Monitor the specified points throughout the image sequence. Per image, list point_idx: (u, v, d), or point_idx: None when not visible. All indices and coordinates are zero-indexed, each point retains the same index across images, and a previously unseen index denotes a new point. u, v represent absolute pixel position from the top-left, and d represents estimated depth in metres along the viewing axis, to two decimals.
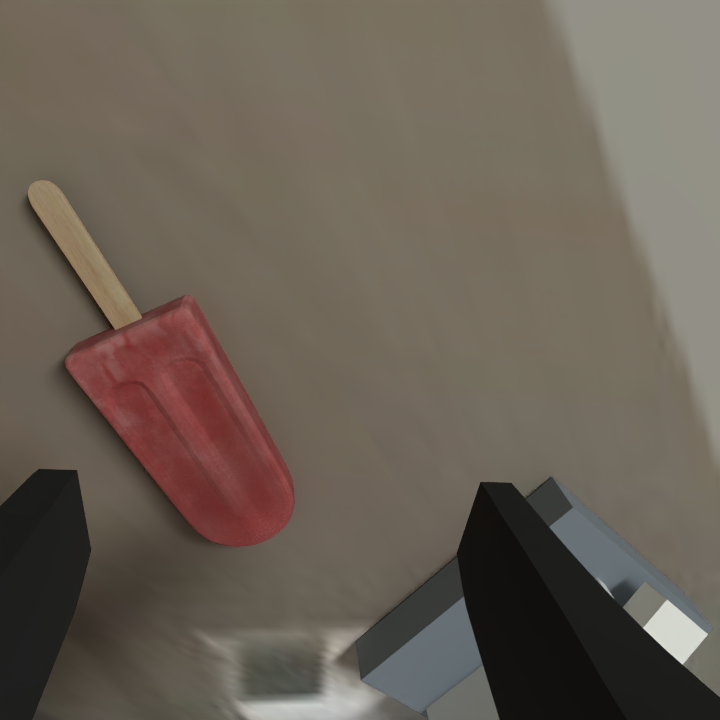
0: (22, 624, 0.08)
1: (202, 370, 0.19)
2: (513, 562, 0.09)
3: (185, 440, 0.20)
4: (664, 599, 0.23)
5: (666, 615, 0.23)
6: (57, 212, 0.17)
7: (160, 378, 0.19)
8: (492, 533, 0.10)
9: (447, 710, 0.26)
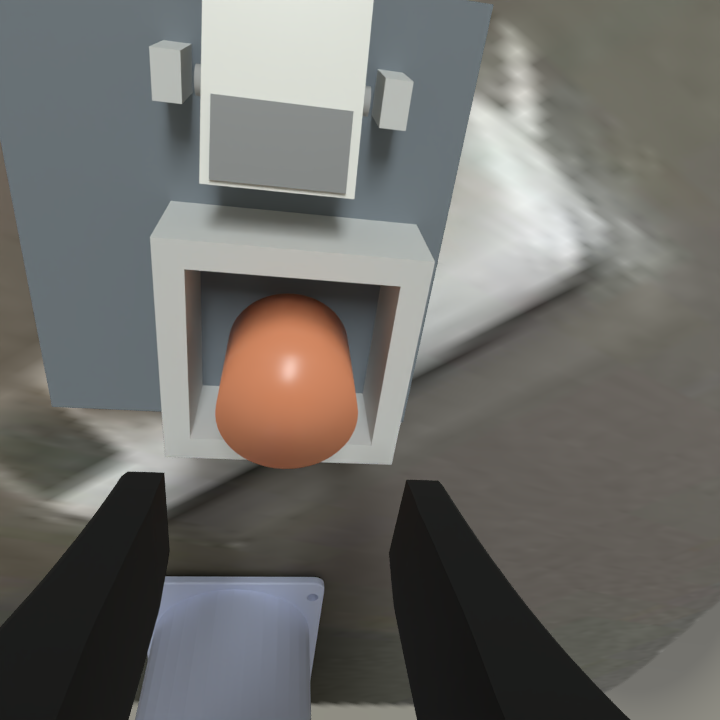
0: (127, 624, 0.08)
1: None
2: (428, 561, 0.09)
3: None
4: None
5: None
6: None
7: None
8: (413, 532, 0.10)
9: None
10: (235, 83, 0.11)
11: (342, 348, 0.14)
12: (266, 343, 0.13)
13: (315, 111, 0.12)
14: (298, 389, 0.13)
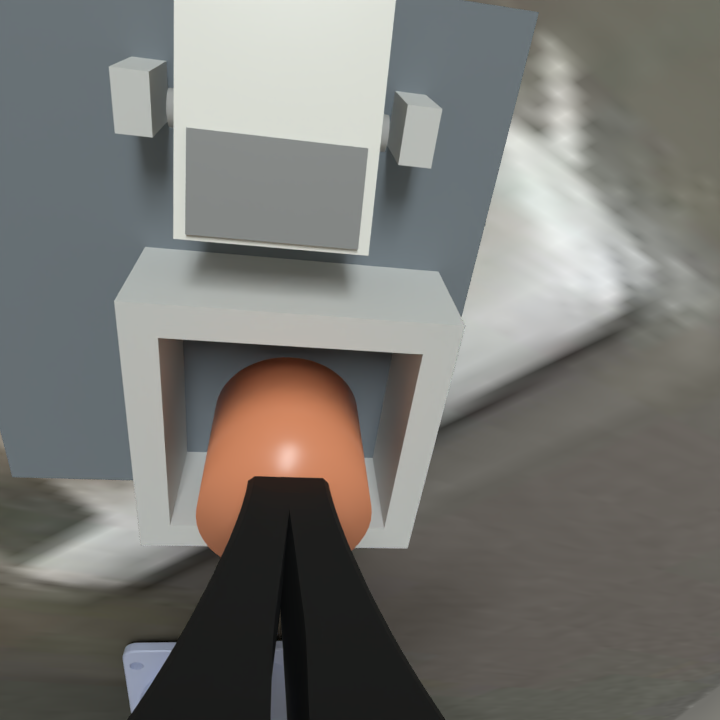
0: (276, 623, 0.09)
1: None
2: (291, 560, 0.09)
3: None
4: None
5: None
6: None
7: None
8: (287, 530, 0.09)
9: None
10: (218, 114, 0.09)
11: (352, 428, 0.11)
12: (259, 430, 0.10)
13: (320, 147, 0.09)
14: None
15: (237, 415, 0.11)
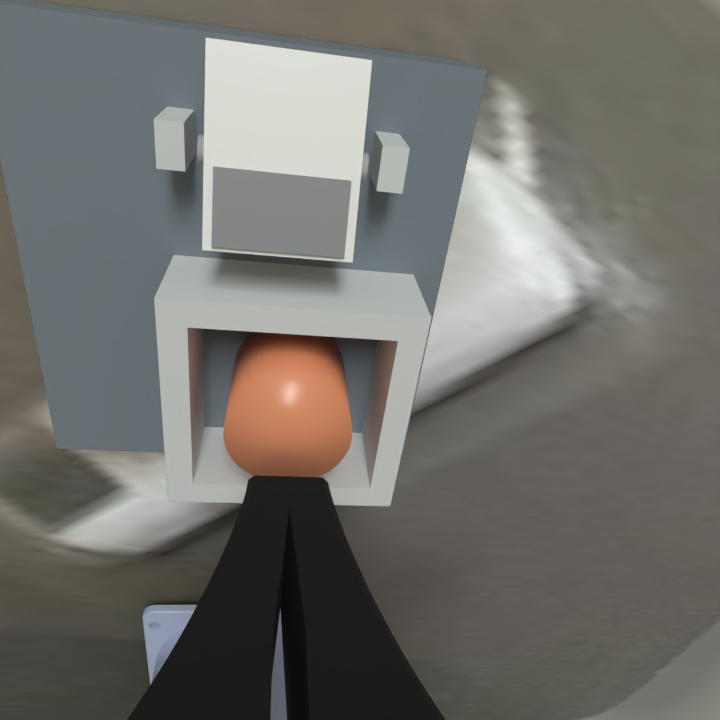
0: (276, 623, 0.09)
1: None
2: (291, 560, 0.09)
3: None
4: None
5: (236, 70, 0.11)
6: None
7: None
8: (287, 530, 0.09)
9: None
10: (237, 156, 0.12)
11: (338, 373, 0.15)
12: (270, 370, 0.14)
13: (314, 180, 0.12)
14: (298, 412, 0.14)
15: (253, 362, 0.15)
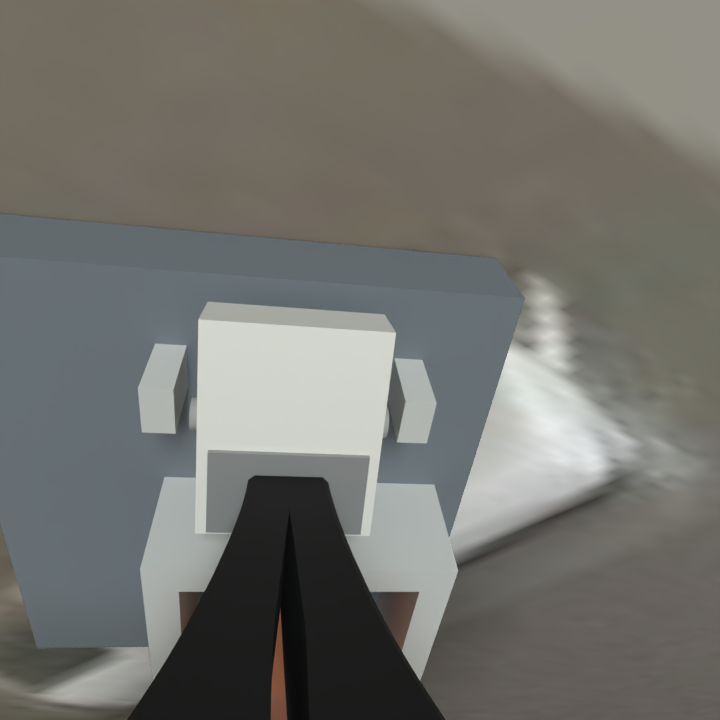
0: (276, 622, 0.09)
1: None
2: (291, 560, 0.09)
3: None
4: (198, 322, 0.09)
5: (234, 351, 0.09)
6: None
7: None
8: (287, 530, 0.09)
9: None
10: (236, 438, 0.10)
11: None
12: None
13: (327, 457, 0.10)
14: None
15: None
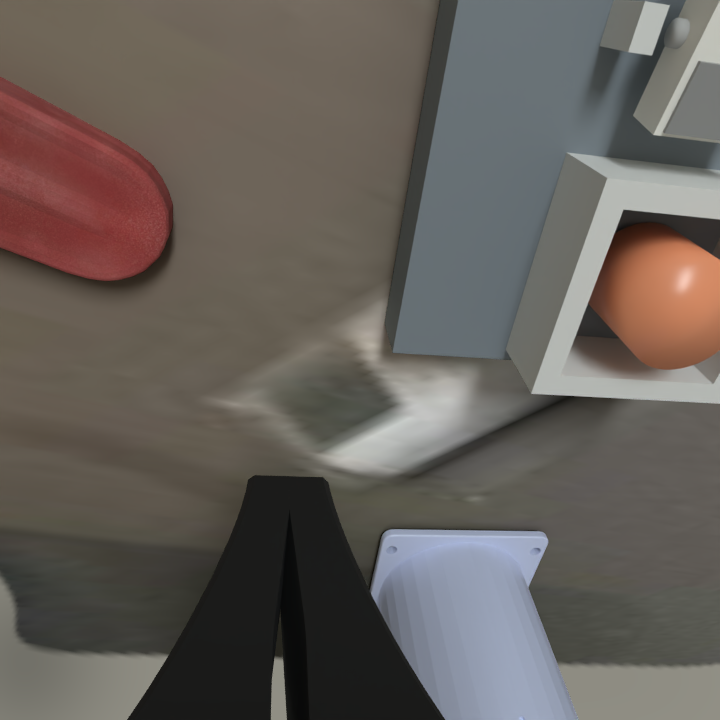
0: (276, 623, 0.09)
1: None
2: (291, 561, 0.09)
3: None
4: None
5: None
6: None
7: None
8: (287, 530, 0.09)
9: (522, 331, 0.18)
10: None
11: None
12: (680, 255, 0.15)
13: None
14: (708, 294, 0.15)
15: (646, 252, 0.16)
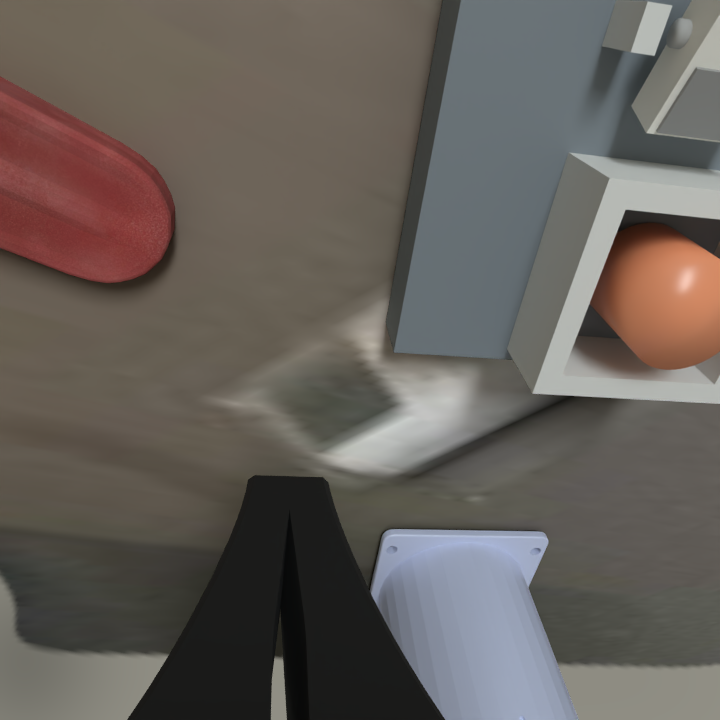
0: (276, 622, 0.09)
1: None
2: (291, 560, 0.09)
3: None
4: None
5: None
6: None
7: None
8: (287, 530, 0.09)
9: (523, 331, 0.18)
10: None
11: None
12: (681, 255, 0.15)
13: None
14: (710, 294, 0.15)
15: (648, 252, 0.16)
